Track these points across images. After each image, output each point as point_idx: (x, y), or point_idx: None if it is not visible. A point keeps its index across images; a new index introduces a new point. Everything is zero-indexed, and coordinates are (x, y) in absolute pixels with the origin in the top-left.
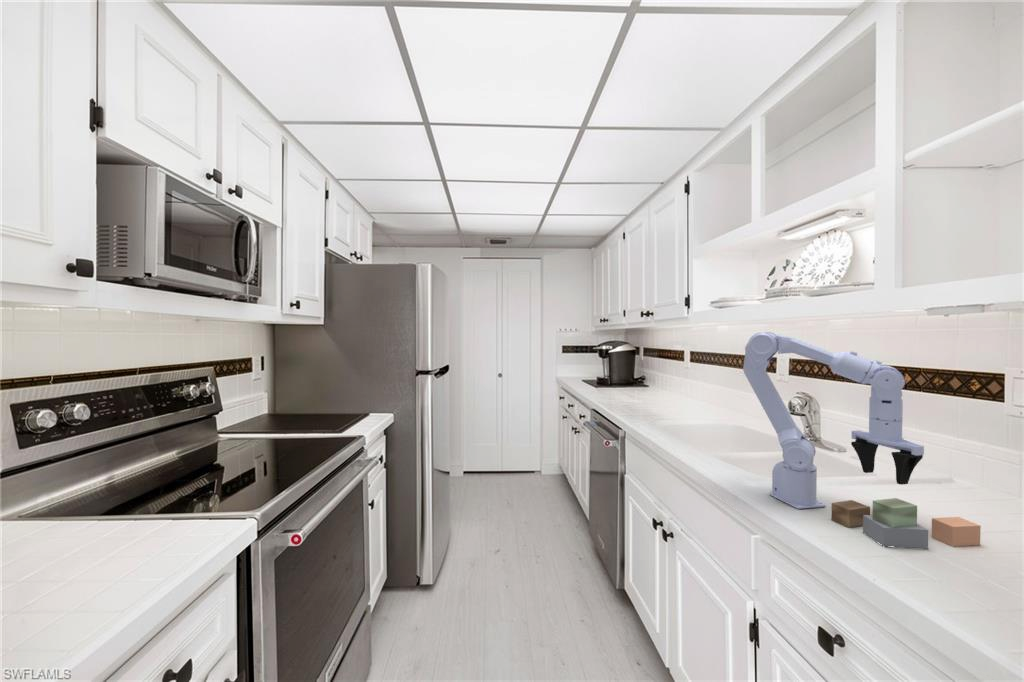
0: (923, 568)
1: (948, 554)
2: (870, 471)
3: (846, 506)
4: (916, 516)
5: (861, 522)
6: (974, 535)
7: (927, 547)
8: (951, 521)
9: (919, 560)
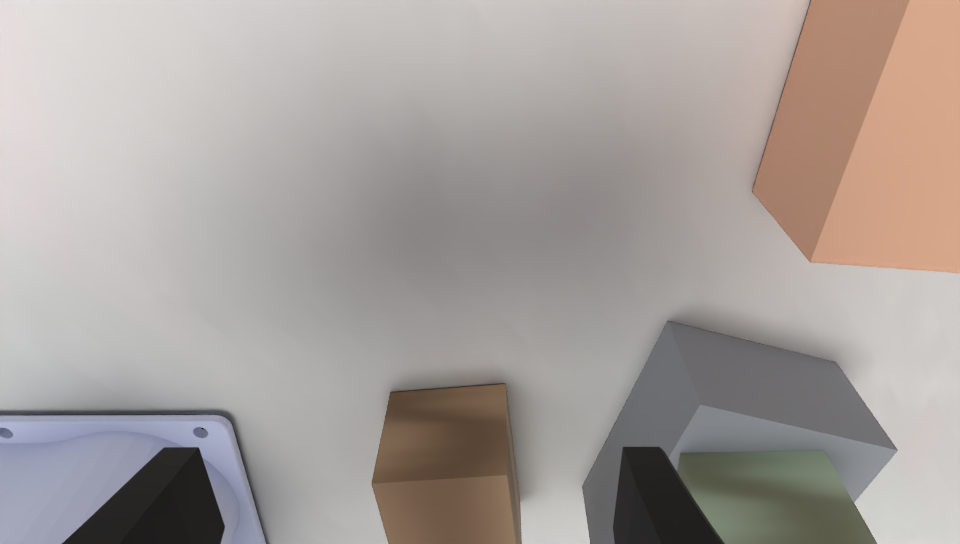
0: (921, 527)
1: (921, 318)
2: (204, 492)
3: None
4: (853, 507)
5: (512, 453)
6: None
7: (839, 371)
8: (927, 175)
9: (876, 488)
